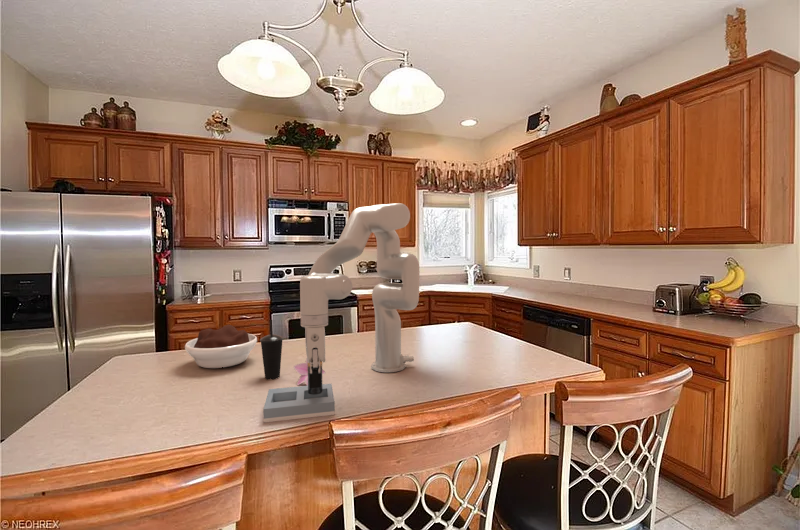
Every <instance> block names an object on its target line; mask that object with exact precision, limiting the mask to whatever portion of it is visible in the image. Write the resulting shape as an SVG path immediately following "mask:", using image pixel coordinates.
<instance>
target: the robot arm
mask: <svg viewBox="0 0 800 530" xmlns="http://www.w3.org/2000/svg"><path fill="white" fill-rule="evenodd" d="M410 219H411V212H410V209H409V207H408V206H407V205H406V204H404V203H400V202H398V203H387V204H385V203H382V204H374V205H369V206H360V207H357V208H355V209H353V211H352V212H351V213H350V215H349V218H348V220H347V221H346V223H345V226H344V228H343V230H342V232H341V234H340V235H339V238H338V240H337V241H336V242H335V243H334V244H333V245H331V246H330V247H328V249H326V250H325V251H324V252H322V254H320V255H319V256H318V258H316V259H315V261H314V263H313V265H312V266H311V269H310V271H309V273H308V275H306V276H302V277H301V278H300V281H299V282H300V283H299V290H300V291H299V294H300V296H299V297H300V298H299V300H300V305H299V308H300V312H299V313H300V326H301V327H302V328H304V329H305V331H304V332H305V333H304V335H305V336H304V337H305V351H306V354H305V355H306V359H307V362H308V363H309V364H310V373H309V387H310V388H319V387H321V372H320V360H321V362H322V364H324V363H326V332H325V331H326V330H325V329H326V328H325V327H327V326H329V300H343V299H345V298H347V297H349V295H350V294H351V292H352V290H353V282H352V280H351V279H350V277H349V276H347V275H345V274H342V273H332V272H333V271H334V270H336V268H337V267H339V266H342V265H343V264H345V263H347V262H350V261H352V260H355V259H356V258H358V257H360V256H361V255H362V254H363V253H364V250H365V248H366V246H367V243H368V240H369V239H370V236H371V234H372V233H373V234H374V236H375V239H376V240H375V241H376V272H377V275H378V276H379V277H380V278H382V279H386V280H387V279H388V280H401V281H402V282H401V283H399V282H380V283H377V284H376V285H375V286H373V289H372V292H371V297H372V298H371V299H372V300H371V301H372V304H373V308H374V323H375V324H374V325H375V326H374V328H375V329H374V330H375V331H374V333H375V334H374V337H375V338H374V339H375V340H374V341H375V343H374V344H375V347H374V348H375V361H373V362H372V363H371V370H373V371H376V372H380V373H397V372H400V371H403V370H405V369H406V364H407V362H408V363H411V362H414V361H415V357H414V356H413V355H412V356H409V355H408V354H407V355H403V354H402V321H401V317H400V314H399V313H398V311H397V310H399V311H412V310H414V309H416V308H417V306H418V304H419V298H420V271H421V270H420V263H419V260H418V258H417V256H416V255H415V254H413V253H411V252H410V253H408V252H401V241H400V236H399V234H398V233H397V231H396V230H400V229H403V228H405V227H406V226H407V225H408V224H409V222H410ZM311 360H313V362H311ZM317 360H319V362H318V361H317ZM312 365H313V366H312Z"/></svg>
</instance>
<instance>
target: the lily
mask: <svg viewBox="0 0 800 530" xmlns="http://www.w3.org/2000/svg"><path fill="white" fill-rule="evenodd" d="M292 368H293V370H294V372H295V371H296V373H297V374H298V375H300V376H299V378H298V379H297V382H296V386H299V385H301V384H302V383H305V386H308V362H307V358H306V360H305V362H300V363H297V364H295V365H293V367H292ZM325 374H326V371H325V370H324V369H323V368H322V375H325Z"/></svg>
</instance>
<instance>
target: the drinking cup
mask: <svg viewBox="0 0 800 530" xmlns="http://www.w3.org/2000/svg"><path fill="white" fill-rule="evenodd" d="M269 323H270V325H269V326H270V327H269V329H270V330H269V331H270V334H267V335H264V336H263V337H261V338H260V339H259V342H260V345H261V354H262V362H263V370H264V371H263V372H264V379H265V378H266V379H265V380H268V379H272V380H276V378H277V379H279V378H280V377H281V364H282V351H283V340H284V336H282V335H279V334H274V332H273V319H270V320H269ZM278 377H279V378H278Z"/></svg>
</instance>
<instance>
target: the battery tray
mask: <svg viewBox="0 0 800 530" xmlns="http://www.w3.org/2000/svg"><path fill="white" fill-rule="evenodd" d="M322 388H323V392H322V393H320V394H316V395H312V394H309V393H308V386H307V385H301V386H299V385H297V386H289V387H278V388H269V389H268V392H267V395H266V398H265V399H266V400H265V402H264V404H263V405H264V406H263V408H262V409H263V412H262V413H263V417H262V418H263V423H271V422H280V421H288V420H289V421H290V420H299V419H307V418H316V417H317V418H318V417H328V416H334V415H335V414H336V413H335V411H336V410H335V405H336V403H335V397H334V391H333V384H332V383H322Z"/></svg>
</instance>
